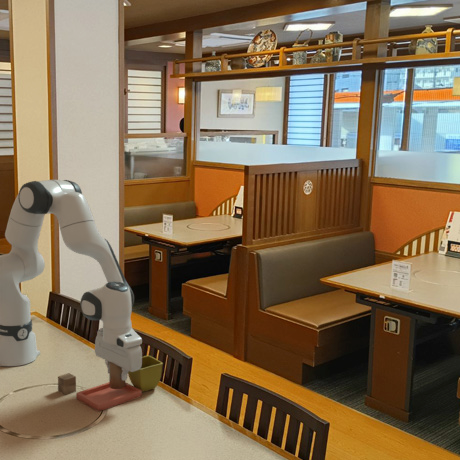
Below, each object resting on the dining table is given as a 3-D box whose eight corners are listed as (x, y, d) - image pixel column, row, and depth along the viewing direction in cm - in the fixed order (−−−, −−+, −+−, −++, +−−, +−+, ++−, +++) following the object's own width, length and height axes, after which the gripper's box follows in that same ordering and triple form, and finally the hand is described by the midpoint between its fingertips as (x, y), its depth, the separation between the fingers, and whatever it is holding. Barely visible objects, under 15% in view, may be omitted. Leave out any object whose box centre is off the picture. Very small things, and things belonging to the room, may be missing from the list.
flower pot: (139, 396, 193) (140, 369, 192) (125, 386, 200) (125, 360, 198) (163, 389, 199) (163, 363, 197) (148, 380, 205) (149, 355, 204)
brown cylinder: (106, 385, 193) (106, 361, 192) (119, 381, 197) (119, 357, 195) (115, 390, 190) (115, 366, 188) (128, 386, 193) (128, 362, 192)
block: (58, 391, 195) (57, 376, 194) (69, 387, 198) (68, 372, 197) (64, 395, 193) (64, 380, 192) (75, 391, 195) (75, 376, 195)
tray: (76, 398, 190) (76, 392, 190) (118, 384, 201) (118, 378, 201) (98, 411, 182) (98, 405, 181) (141, 396, 193) (141, 390, 193)
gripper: (89, 328, 195) (90, 369, 198) (128, 344, 181) (128, 389, 184) (106, 324, 200) (106, 364, 202) (145, 340, 186) (145, 383, 188)
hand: (117, 376), depth 193 cm, fingers closed on brown cylinder, 5 cm apart
